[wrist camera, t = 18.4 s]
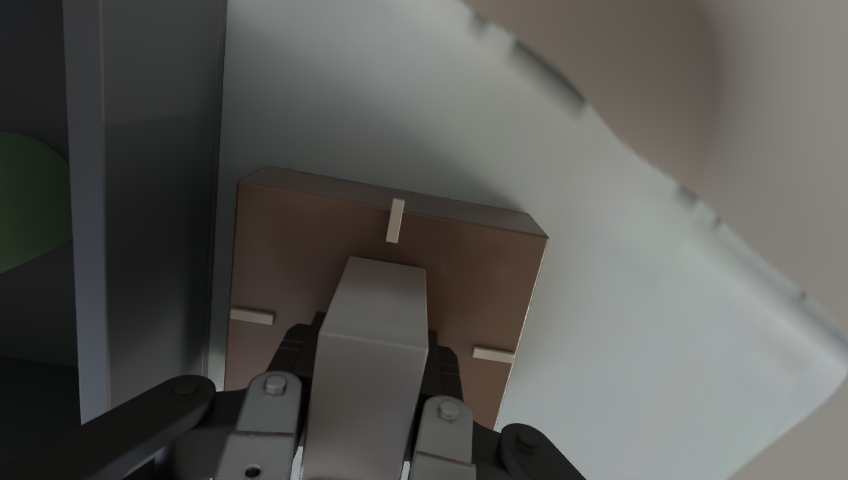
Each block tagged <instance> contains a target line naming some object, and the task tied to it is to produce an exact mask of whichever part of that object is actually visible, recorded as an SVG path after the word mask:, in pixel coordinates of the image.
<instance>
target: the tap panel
mask: <svg viewBox="0 0 848 480" xmlns="http://www.w3.org/2000/svg"><path fill="white" fill-rule="evenodd" d="M548 241H549V237H548V235H547V234H546V233H545V232H544V231H543V230H542V229H541V227H540V226H539V225H538V224H537V223H536V222H535V221H534V219H533V218H532V217H531V216H530V215H529V214H528V213H523V212H517V211H512V210H506V209H501V208H495V207H490V206H484V205H479V204H473V203H468V202H462V201H457V200H451V199H446V198H440V197H435V196H430V195H424V194H419V193H413V192H408V191H402V190H397V189H391V188H386V187H380V186H375V185H369V184H364V183H358V182H353V181H347V180H342V179H336V178H331V177H325V176H320V175H314V174H309V173H303V172H298V171H292V170H287V169H281V168H276V167H270V166H267V167H265V168H263V169H261V170H259V171H257V172H255V173H253V174H251V175H249V176H247V177H245V178H244V179H242V180H240V181H238V183H237V196H236V211H235V226H234V241H233V256H232V271H231V286H230V301H229V316H228V331H227V346H226V361H225V376H224V391H234V390H240V389H244V388H248V385H249V382H250V381H251V380H252V379H253V378H254V377H255V376H257V375H258V374H261V373H263V372H266V370H267V368H268V366H269V364H270V362H271V360H272V359H273V357H274V355H275V353H276V351H277V349H278V348H279V345H280V343H281V341H282V340H283V338H284V336H285V334H286V332H287V330H288V329H290V328H291V327H293V326H294V325H296V324H297V323H300V324H307V325H311V323H312V321H313V319H314V316H315V314H316V312H317V311H320V312H326V313H327V311H328V309H329V306H330V304H331V301H332V299H333V296H334V294H335V292H336V289H337V287H338V284H339V282H340V279H341V277H342V274H343V272H344V269H345V267H346V264H347V262H348V259H349V257H350V256H354V257H360V258H365V259H371V260H377V261H383V262H389V263H395V264H401V265H406V266H412V267H418V268H424V269H425V274H426V300H427V326H428V329H432V330H437V338H438V345H439V346H445V347H450V348H451V349H452V350H453V352H454V353H455V354H456V356H457V357H458V364H459V371H460V378H461V385H462V392H463V399H464V403H465V404H466V405H467V406H468V407H469V408H470V409H471V411H472V414H473V420H474V421H476V422H477V423H479V424H480V425H482V426H484V427H486V428H488V429H491V430H493V431H495V427H496V424H497V420H498V417H499V413H500V410H501V406H502V403H503V399H504V396H505V392H506V388H507V385H508V381H509V378H510V374H511V371H512V367H513V364H514V360H515V357H516V353H517V350H518V346H519V343H520V339H521V336H522V332H523V329H524V325H525V322H526V318H527V315H528V311H529V307H530V304H531V300H532V297H533V293H534V290H535V286H536V283H537V279H538V276H539V272H540V269H541V265H542V262H543V258H544V255H545V251H546V248H547V244H548Z"/></svg>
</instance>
